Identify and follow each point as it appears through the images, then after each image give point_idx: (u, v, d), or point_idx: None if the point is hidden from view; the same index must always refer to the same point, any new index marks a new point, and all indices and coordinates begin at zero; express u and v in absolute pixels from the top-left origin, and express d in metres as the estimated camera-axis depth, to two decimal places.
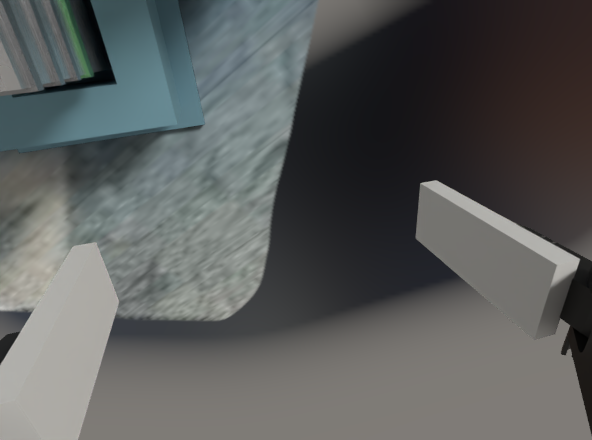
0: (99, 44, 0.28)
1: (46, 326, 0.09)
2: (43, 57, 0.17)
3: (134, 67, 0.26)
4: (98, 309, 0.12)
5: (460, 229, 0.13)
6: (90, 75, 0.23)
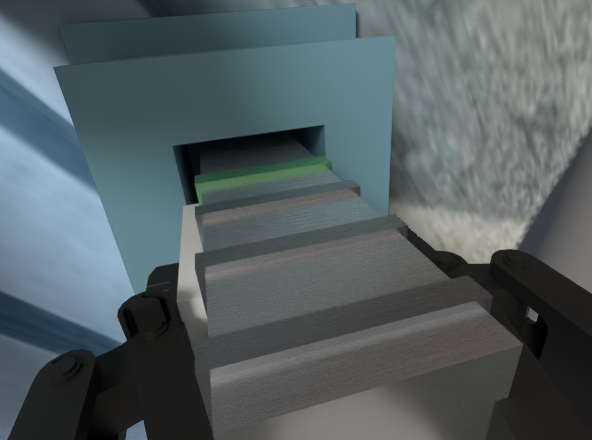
0: (258, 138, 0.20)
1: None
2: (365, 247, 0.09)
3: (302, 92, 0.16)
4: None
5: None
6: (328, 161, 0.14)
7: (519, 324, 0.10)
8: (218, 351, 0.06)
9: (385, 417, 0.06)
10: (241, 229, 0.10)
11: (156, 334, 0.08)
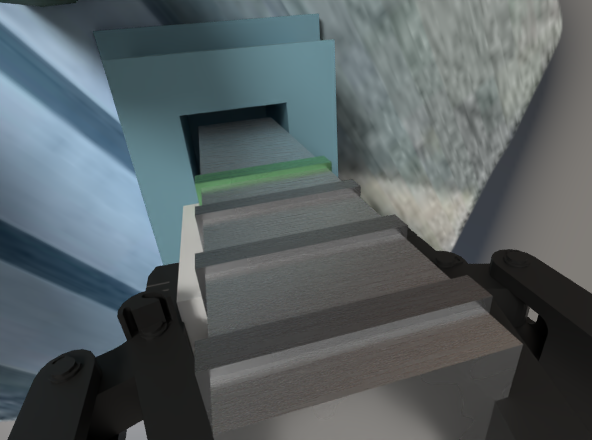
0: (258, 138, 0.20)
1: None
2: (365, 247, 0.09)
3: (269, 79, 0.23)
4: None
5: None
6: (328, 162, 0.14)
7: (519, 324, 0.10)
8: (218, 351, 0.06)
9: (385, 417, 0.06)
10: (241, 229, 0.10)
11: (156, 334, 0.08)
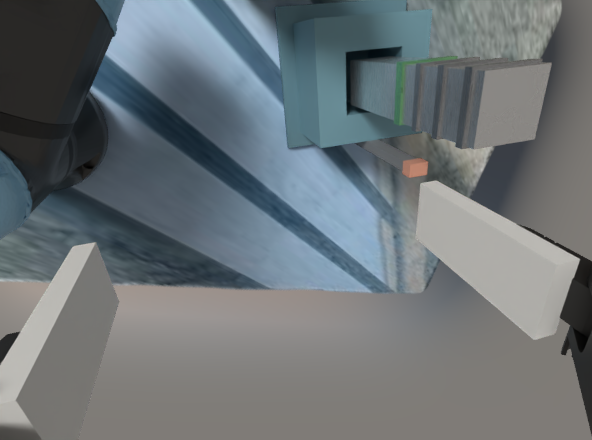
0: (400, 59, 0.37)
1: (46, 326, 0.09)
2: (495, 62, 0.26)
3: (395, 31, 0.40)
4: (98, 309, 0.12)
5: (460, 229, 0.13)
6: (455, 56, 0.32)
7: None
8: (474, 66, 0.23)
9: (517, 79, 0.23)
10: None
11: None
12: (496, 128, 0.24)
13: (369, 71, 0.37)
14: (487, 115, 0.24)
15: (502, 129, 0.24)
